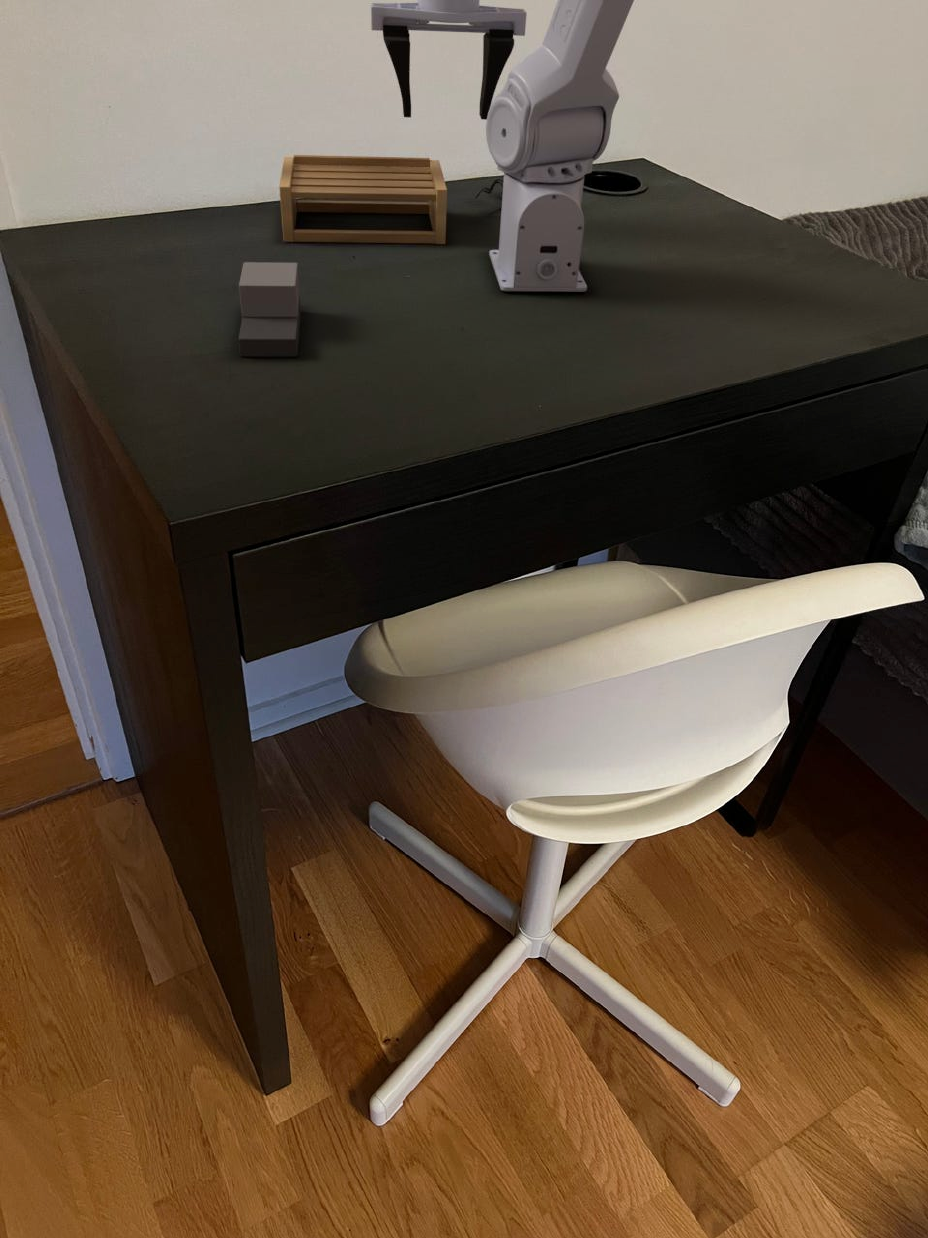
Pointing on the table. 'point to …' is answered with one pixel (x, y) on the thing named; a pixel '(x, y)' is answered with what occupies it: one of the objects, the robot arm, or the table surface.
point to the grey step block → (269, 309)
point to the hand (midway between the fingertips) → (445, 115)
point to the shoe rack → (363, 195)
